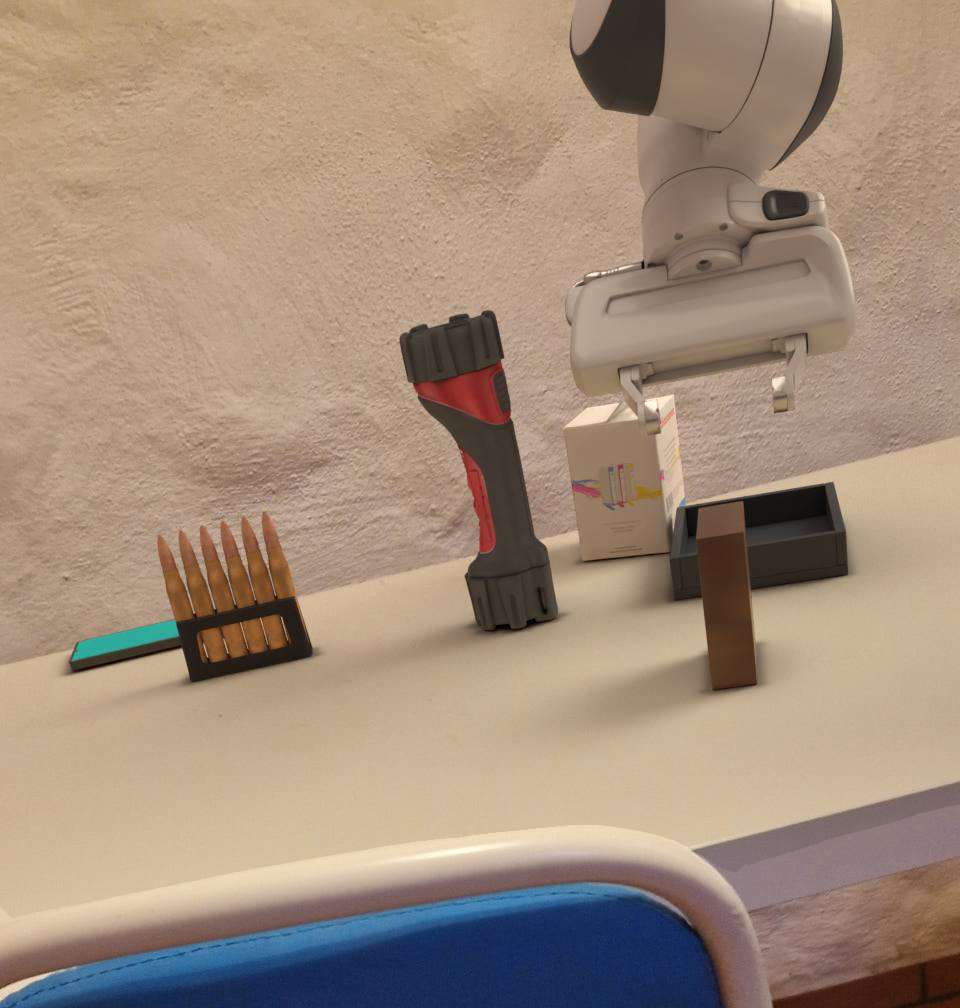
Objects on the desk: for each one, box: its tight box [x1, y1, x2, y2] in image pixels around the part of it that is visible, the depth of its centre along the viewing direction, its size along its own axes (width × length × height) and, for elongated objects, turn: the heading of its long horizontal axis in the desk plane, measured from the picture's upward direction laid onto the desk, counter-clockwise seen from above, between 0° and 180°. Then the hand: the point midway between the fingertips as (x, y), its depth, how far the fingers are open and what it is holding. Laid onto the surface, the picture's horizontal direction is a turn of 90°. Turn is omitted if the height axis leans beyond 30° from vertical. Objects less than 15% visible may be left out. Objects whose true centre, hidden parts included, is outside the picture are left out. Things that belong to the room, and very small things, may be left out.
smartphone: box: [68, 618, 223, 671], centre depth 132 cm, size 7×1×15 cm
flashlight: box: [398, 309, 559, 631], centre depth 111 cm, size 8×8×23 cm
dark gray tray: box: [669, 481, 849, 601], centre depth 117 cm, size 14×17×3 cm
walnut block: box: [696, 501, 758, 691], centre depth 94 cm, size 3×8×10 cm, turn 171°
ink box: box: [562, 393, 687, 562], centre depth 126 cm, size 9×8×13 cm
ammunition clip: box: [156, 510, 314, 682], centre depth 117 cm, size 11×2×12 cm, turn 94°
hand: (716, 419), depth 99 cm, fingers open, 8 cm apart
